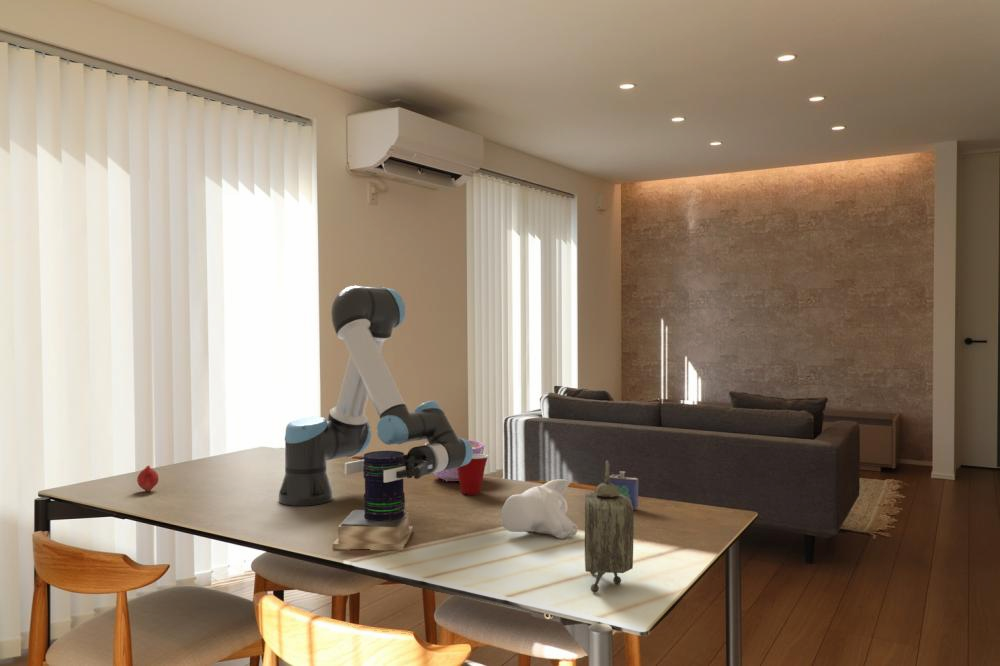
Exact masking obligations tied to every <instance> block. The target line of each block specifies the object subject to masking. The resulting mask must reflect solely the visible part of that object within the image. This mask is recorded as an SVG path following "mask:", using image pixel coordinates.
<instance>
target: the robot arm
mask: <svg viewBox="0 0 1000 666" xmlns="http://www.w3.org/2000/svg"><path fill="white" fill-rule="evenodd" d="M330 313H331V322H332V327H333V329H334V331H335V333H336V336H337V338H338V339H339V340H343V342H344V344H345V345H346V348H347V351H348V352H349V353H348V354H349V357H348V361H347V365H346V369H345V373H344V376H343V380H342V384H341V388H340V391H339V395H338V399H337V401H336V402H337V403H336V405H335V406H334V407H332V408H330V410H329V412H328V416H327V419H326V418H325V417H322V416H311V417H301V418H298V419H295V420H292V421H291V422H288V424H287V425H286V427H285V433H284V434H285V436H284V442H285V445H284V448H285V449H284V450H285V452H284V454H285V455H284V457H285V458H284V459H285V460H284V461H285V462H284V470H285V471H284V477H283V480H282V483H281V486H280V489H279V492H278V503H280V504H282V505H285V506H286V505H287V506H296V507H297V506H299V507H300V506H301V507H304V506H307V507H308V506H315V505H316V506H317V505H321V504H326V503H329V502H331V501H332V500H333V489H332V486H331V482H330V480H329V476H328V474H327V461H330V460H337V459H341V458H349V457H350V458H351V457H354V456H356V455H360V454H363V452H364V451H365V450H366V449H367V448H368V447H369V444H370V443H371V440H372V439H371V438H372V431H371V430H370V429H371V425H370V423H369V422H368V420H369V419H368V418H369V417H368V416H367V415H366V408H367V405H368V401H369V397H370V399H371V401H372V403H373V406H374V407H375V410H376V412H377V414H378V416H379V420H378V422H377V426H376V430H377V437H378V439H379V440H380V441H381V442H382V443H383V444H385V445H388V446H390V445H392V446H393V445H402V444H405V443H406V444H407V443H409V442H415V441H422V440H423V441H424V440H426V441H427V443H429V444H427V445H425V444H424V445H418V446H414V447H412V448H410V450H408V452H407V454H404V464H405V466H403V467H398V468H393V469H389V470H384V482H385V483H387V482H391V481H395V480H400V479H403V480H404V479H406V478H407V479H411V478H414V479H416V480H418V479H421V477H424V476H427V475H430V474H431V475H433V476H436V475H435V474H436V472H440V471H444V470H449V469H454V468H455V469H456V468H459V467H461V466H464V465H467V464H468V463H469V462H470V461H471V459H472V457H473V449H472V446H471V444H470V442H468V441H467V439H466V438H461V437H460V438H459V437H458V436H457V433H456V432H455V431H454V429H453V427H452V425H451V424H450V421H449V420H448V418H447V416H446V413H445V412H444V410H443V409H442V407H441V405H439V403H438V402H437V401H436V400H428V401H426V402H423V403H420V404H419V405H418V406H417V407H416V408H415V409H414V411H413V412H410V411H409V408H408V406H407V405H406V403H405V401H404V399H403V398H404V397H402V395H401V392H400V389H398V386H397V385H396V384H397V383H396V382H395V379H394V378H393V376H392V374H391V370H390V369H389V367H388V365H387V363H386V361H385V358H384V357H383V355H382V349H383V346H384V343H385V341H386V340H389V339H391V337H392V333H393V329H396V328H397V327H399V326H400V325H402V323H403V322H404V319H405V317H406V306H405V302H404V300H403V297H402V296H401V294H400V293H399V292H398V291H397V290H395V289H393V288H388V287H384V286H380V287H379V286H377V287H376V286H360V285H354V286H353V285H351V286H348V287H345V288H344V289H342V290H341V291H340V292H339V293H338V294H337V295H336V296H335V298H334V300H333V302H332V306H331V312H330ZM363 466H364V456H361V457H359V460H354V461H348V462H345V463H344V475H351V474H352V475H353V474H356V473H361V472H362V473H364V471H363Z"/></svg>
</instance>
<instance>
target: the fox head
mask: <svg viewBox="0 0 1000 666" xmlns="http://www.w3.org/2000/svg"><path fill="white" fill-rule="evenodd" d="M570 484H571V481H570V480H568V479H564V478H562V479H561V478H559V479H552V480H549V481H547V482H546V483H544V484H542V485H538V484H536V486H533V487H530V488H528V489H526V490H524V492H522V493H521V494H520V493H517V494H512V495H510V496H509V497H508V498H507V499H506V500H505V502H504V504H503V506H502V509H501V512H500V522H501V525H502V527H503V529H504V530H506V531H507V532H512V533H524V532H526V531H527V533H532V532H533V533H534V532H535V533H538V534H542V535H543V534H546V535H551V536H554V537H556V538H557V539H560V540H561V539H565V538H567V537H568V536H570V537H574V536H575V535H576V534H577V533H578V530H579V527H578V525H577V524H575V523H574V522H573V521H572V520H571V519H570V518H569V517H568V516H567V515H566V514H567V511H568V508H569V507H568V503H567V500H566V498H565V497H564V496H563V495H564V492H565V491H566V489H567V488H568V487H569V485H570Z"/></svg>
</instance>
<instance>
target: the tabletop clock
mask: <svg viewBox="0 0 1000 666" xmlns="http://www.w3.org/2000/svg"><path fill="white" fill-rule="evenodd" d="M604 465H605V471H604V473H605V474H604V482H601V483H600V484H597V486H596V487H595V489H594V492H585V494H584V495H585V499H584V500H585V501H584V502H585V504H584V507H585V508H584V569H585V572H587V573H589V574H591V575H595V574H596V573H597V575H596V579H595V583H592V585H590V591H591V592H593V593H594V594H595V593H597V592H599V589H600V586H599V585H598V584H599V582H600V580H601V578H602V577H603V575H605V573H608V574H609V573H610V574H611V573H612V574H614V577H613V580H612V582H613V584H614V585H617V586H618V585H621V582H622V578H621V576H618V574H624V573H626V572H628V571H630V570H631V569H632V570H633V568H634V567H633V566H634V532H635V531H634V529H635V527H634V524H635V523H634V522H635V521H634V520H635V519H634V518H635V517H634V515H635V514H634V511H633V506H632V502H631V500H630V498H628V497H626V496H624V495H623V494H620V492H619V489H618V488H617V487H616V486H615V485H614V484H612V483H610V476H611V475H610V469H611V468H610V461H609V460H607V459H606V460H605V463H604Z"/></svg>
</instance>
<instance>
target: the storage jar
mask: <svg viewBox="0 0 1000 666" xmlns="http://www.w3.org/2000/svg"><path fill="white" fill-rule="evenodd" d="M404 455H405V453H404V452H403V451H397V450H378V451H375V450H374V451H369V452H366V453H364V454H363V457H364V466H363V471H364V472H363V471H362V472H363V473H362V474H363V479H364V495H363V507H364V508H363V510H364V511H365V514H364V518H365V519H366V520H369V521H376V522H386V521H394V520H398V519H401V518H403V517H404V516H405V513H404V511H405V505H406V499H405V498H406V497H405V496H406V494H405V491H404V479H400V480H395V481H391V482H387V483H385V482H384V470H389V469H393V468H398V467H403V466H405V464H404Z"/></svg>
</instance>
